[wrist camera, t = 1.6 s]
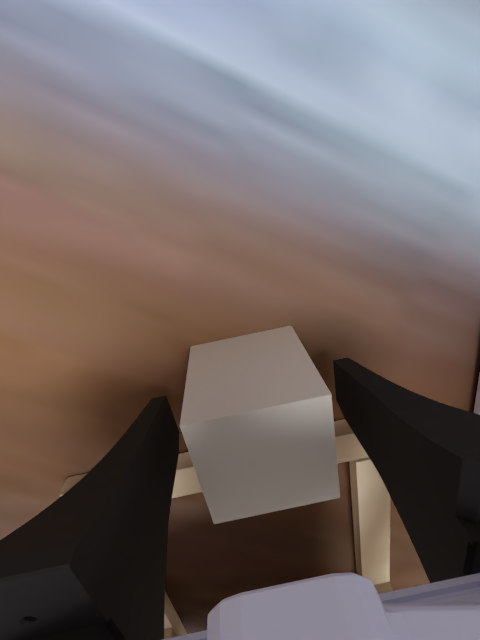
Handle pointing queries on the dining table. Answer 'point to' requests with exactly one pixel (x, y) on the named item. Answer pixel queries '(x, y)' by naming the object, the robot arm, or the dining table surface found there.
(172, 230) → the dining table surface
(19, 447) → the dining table surface
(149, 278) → the dining table surface
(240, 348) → the white block
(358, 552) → the frame
